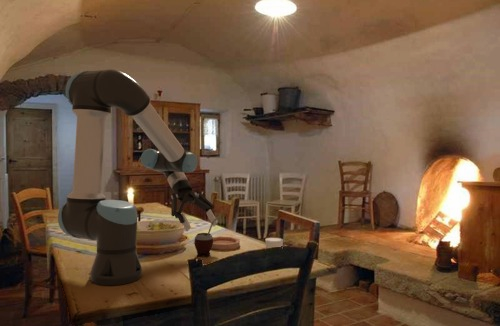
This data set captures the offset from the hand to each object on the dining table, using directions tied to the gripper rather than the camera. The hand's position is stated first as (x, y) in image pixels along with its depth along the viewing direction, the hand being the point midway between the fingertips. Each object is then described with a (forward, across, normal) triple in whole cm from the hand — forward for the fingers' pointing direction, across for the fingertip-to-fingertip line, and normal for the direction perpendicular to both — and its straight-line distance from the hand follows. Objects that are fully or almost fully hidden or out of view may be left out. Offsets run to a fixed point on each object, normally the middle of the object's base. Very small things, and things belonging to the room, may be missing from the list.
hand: (202, 226), depth 149 cm
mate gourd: (+10, +1, -5) cm, 11 cm away
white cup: (+24, -16, +9) cm, 30 cm away
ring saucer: (+6, -13, -9) cm, 17 cm away
